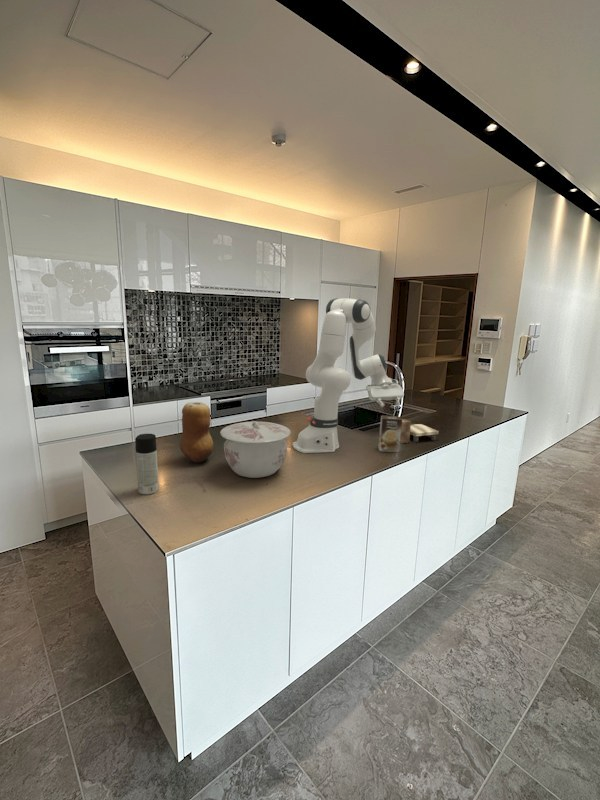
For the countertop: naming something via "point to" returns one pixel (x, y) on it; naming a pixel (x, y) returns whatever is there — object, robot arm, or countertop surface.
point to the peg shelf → (422, 432)
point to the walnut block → (405, 431)
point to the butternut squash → (196, 432)
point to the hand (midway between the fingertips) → (390, 405)
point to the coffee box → (390, 433)
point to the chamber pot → (255, 447)
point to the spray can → (147, 463)
